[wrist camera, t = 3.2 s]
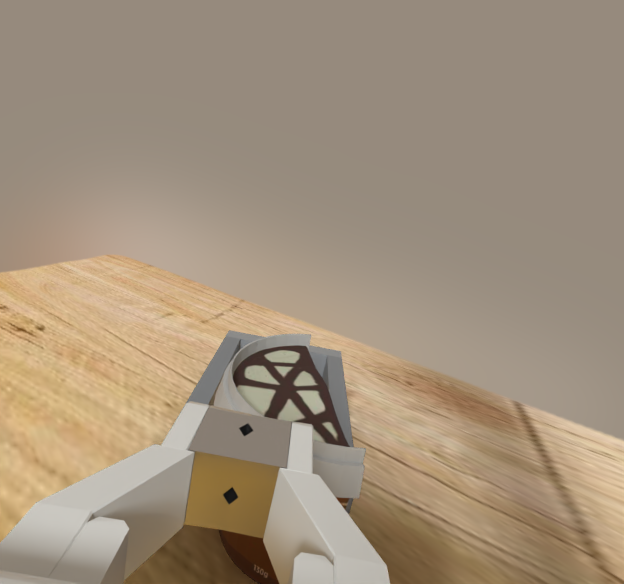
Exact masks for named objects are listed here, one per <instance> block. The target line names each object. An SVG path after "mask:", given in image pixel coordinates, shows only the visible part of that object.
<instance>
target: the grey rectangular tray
mask: <svg viewBox="0 0 624 584" xmlns="http://www.w3.org/2000/svg"><path fill="white" fill-rule="evenodd" d="M261 338H265V337H261V336H256V335H251V334H245V333H240V332H235V331H229V332H228V333H227V335H226V337H225V338H224V340H223V342H222V343H221V345H220V347H219V348H218V350H217V352H216V353H215V355H214V357H213V359H212V360H211V362H210V364H209V365H208V367H207V369H206V370H205V372H204V374H203V375H202V377H201V379H200V380H199V382H198V384H197V386H196V387H195V389H194V391H193V392H192V394H191V396H190V397H189V399H188V401H187V402H186V403H188V402H189V401H192V402H197V403H202V404H207V405H210V406H211V405H212V406H214V400H215V395H216V392H217V390H218V387H219V385H220V382H221V380H222V377H223V375H224V372H225V370H226V368H227V366H228V364H229V363H230V362H231V361H232V360H233V358H234V356H235V355H236V354H237V353H238V351H239V350H240V349H241V348H243V347H244V346H246V345H247V344H249V343H251V342H253V341H255V340H258V339H261ZM308 351H309V353H310V355H311V358H312V360H313V362H314V365H315V367H316V369H317V371H318V372H319V374H320V375H321V376H322V378H323V379H324V381H325V383H326V385H327V387H328V390H329V393H330V396H331V399H332V402H333V406H334V409H335V412H336V415H337V418H338V421H339V424H340V426H341V428H342V431H343V433H344V436H345V438H346V440H347V442H348V444H349V446H350V447H353V440H352V432H351V425H350V417H349V410H348V402H347V395H346V387H345V380H344V372H343V365H342V357H341V351H336V350H331V349H325V348H320V347H315V346H309V350H308ZM183 408H184V407H183ZM180 413H181V412H180ZM352 501H353V498H350V499H349V501H348V504H347V507H346V512H347V513H348V514H349V512H350V508H351V505H352Z"/></svg>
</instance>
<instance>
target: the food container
mask: <svg viewBox="0 0 624 584" xmlns="http://www.w3.org/2000/svg"><path fill="white" fill-rule="evenodd" d="M310 338H311V335H309V334H282V335H274V336H269V337H265V338H261V339H258V340H255V341H253V342H251V343H249V344H247V345H246V346H244V347H243V348H241V349H240V350H239V351H238V353H237V354H236V355H235V356H234V358H233V360H232V361H231V362H230V363H229V364H228V366H227V368H226V370H225V372H224V375H223V377H222V380H221V382H220V385H219V387H218V390H217V392H216V395H215V400H214V406H217V407H221V408H226V409H230V410H235V411H240V412H244V413H249V414H251V415H257V416H262V417H268V418H273V419H279V420H285V421H290V422H292V421H293V422H300V423H306V424H312V426H313V474H316V475H319V476H320V477H321V478H322V480H323V481H324V482H325V484H326V485H327V486H328V488H329V489H330V490H331V492H332V493H333V494H334V496H335V497H336V498H337V500H338V501H339V502H340V504H341V505H342V506H343V508H344V509H345V510H346V507H347V504H348V501H349V499H350V498H358V499H359V496H360V490H361V484H362V479H363V473H364V465H363V460H364V456H365V452H366V449H365V448H355V447H350V446H349V444H348V442H347V440H346V438H345V436H344V433H343V431H342V428H341V426H340V424H339V421H338V418H337V415H336V412H335V409H334V406H333V402H332V399H331V396H330V393H329V390H328V387H327V385H326V383H325V381H324V379H323V378H322V376H321V375H320V374H319V372H318V371H317V369H316V367H315V365H314V362H313V360H312V358H311V355H310V353H309V351H308V350H309V344H310ZM219 532H220V536H221V540H222V543H223V545H224V547H225V549H226V551H227V553H228V555H229V556H230V557H231V559H232V560H233V562H234V563H235V564H236V565H237V566H238V567H239V568H240V569H241V570H242V571H243V572H244V573H245V574H246V575H247V576H249V577H250V578H252V579H253V580H254V581H256V582H257V583H259V584H279V581H278V579H277V576H276V574H275V571H274V568H273V566H272V563H271V560H270V558H269V555H268V553H267V550H266V547H265V545H264V542H263V538H258V537H254V536H249V535H244V534H239V533H235V532H230V531H225V530H219Z"/></svg>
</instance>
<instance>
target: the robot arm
mask: <svg viewBox="0 0 624 584" xmlns="http://www.w3.org/2000/svg"><path fill="white" fill-rule="evenodd" d="M183 524H185V525H191V526H198V527H205V528H212V529H219V530H225V531H230V532H235V533H239V534H244V535H249V536H254V537H258V538H263V542H264V545H265V547H266V550H267V553H268V555H269V558H270V560H271V563H272V566H273V568H274V571H275V574H276V576H277V579H278V581H279V584H390V580H389V575H388V569H387V565H386V564H385V563H384V561H383V560H382V559H381V557H380V556H379V555H378V553H377V552H376V551H375V549H374V548H373V547H372V545H371V544H370V543H369V541H368V540H367V539H366V537H365V536H364V535H363V533H362V532H361V531H360V529H359V528H358V527H357V525H356V524H355V523H354V521H353V520H352V519H351V517H350V516H349V514H348V513H347V512H346V510H345V509H344V508H343V506H342V505H341V504H340V502H339V501H338V500H337V498H336V497H335V496H334V494H333V493H332V492H331V490H330V489H329V488H328V486H327V485H326V484H325V482H324V481H323V480H322V478H321V477H320V476H319V475H316V474H313V426H312V424H306V423H300V422H293V421H292V422H290V421H285V420H279V419H273V418H268V417H262V416H257V415H251V414H249V413H244V412H240V411H235V410H230V409H226V408H221V407H217V406H212V405H211V406H210V405H207V404H202V403H197V402H192V401H189V402H188V403H186V404H185V406H184V408H183V409H182V411H181V413H180V414H179V416H178V418H177V419H176V421H175V423H174V424H173V426H172V428H171V429H170V431H169V433H168V434H167V436H166V438H165V439H164V441H163V443H162V444H161V445H156V444H154V445H152V446H150V447H148V448H146V449H144V450H142V451H140V452H138V453H136V454H134V455H132V456H129V457H127V458H125V459H123V460H121V461H119V462H117V463H115V464H113V465H111V466H109V467H107V468H105V469H103V470H101V471H99V472H97V473H95V474H93V475H91V476H89V477H87V478H85V479H83V480H81V481H79V482H77V483H75V484H73V485H71V486H69V487H67V488H65V489H63V490H61V491H59V492H57V493H55V494H53V495H51V496H49V497H47V498H45V499H42V500H40V501H38V502H36V503H35V505H34V506H33V507H32V508H31V509H30V510H29V511H28V512H27V514H26V515H25V516H24V517H23V518H22V519H21V520H20V521H19V523H18V524H17V525H16V526H15V527H14V528H13V529H12V530H11V532H10V533H9V534H8V535H7V536H6V537H5V538H4V539H3V541H2V542H1V543H0V584H123V583H124V580H125V579H126V578H127V577H129V576H130V575H131V574H132V573H133V572H134V571H135V570H136V569H137V568H138V567H140V566H141V565H142V564H143V563H144V562H145V561H146V560H147V559H148V558H149V557H151V556H152V555H153V554H154V553H155V552H156V551H157V550H158V549H159V548H161V547H162V546H163V545H164V544H165V543H166V542H167V541H168V540H169V539H170V538H172V537H173V536H174V535H175V534H176V533H177V532H178V531H179V530H180V529H181V528H183Z"/></svg>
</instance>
